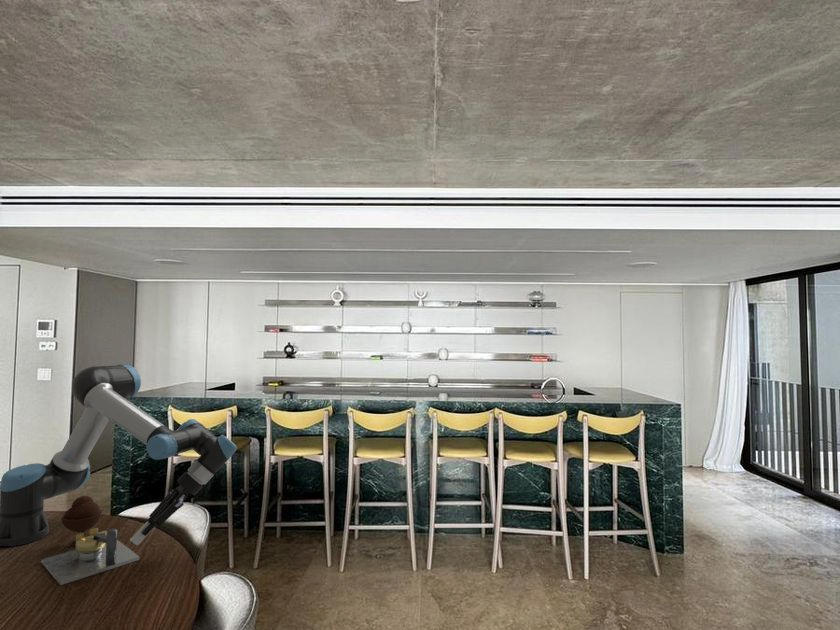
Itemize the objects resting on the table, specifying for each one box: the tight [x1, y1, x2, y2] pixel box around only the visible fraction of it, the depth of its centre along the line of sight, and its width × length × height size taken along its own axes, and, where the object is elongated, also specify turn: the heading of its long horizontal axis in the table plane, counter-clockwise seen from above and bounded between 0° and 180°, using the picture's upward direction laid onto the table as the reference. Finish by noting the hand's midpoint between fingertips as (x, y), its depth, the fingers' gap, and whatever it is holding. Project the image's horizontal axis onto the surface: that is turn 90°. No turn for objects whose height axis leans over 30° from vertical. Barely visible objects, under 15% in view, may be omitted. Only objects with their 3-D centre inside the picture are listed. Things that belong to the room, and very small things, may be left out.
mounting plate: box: [40, 539, 140, 586], centre depth 146 cm, size 20×20×4 cm
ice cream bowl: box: [61, 495, 103, 548], centre depth 159 cm, size 11×11×15 cm
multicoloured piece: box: [74, 527, 118, 566], centre depth 145 cm, size 15×8×10 cm, turn 65°
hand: (133, 542), depth 146 cm, fingers closed
